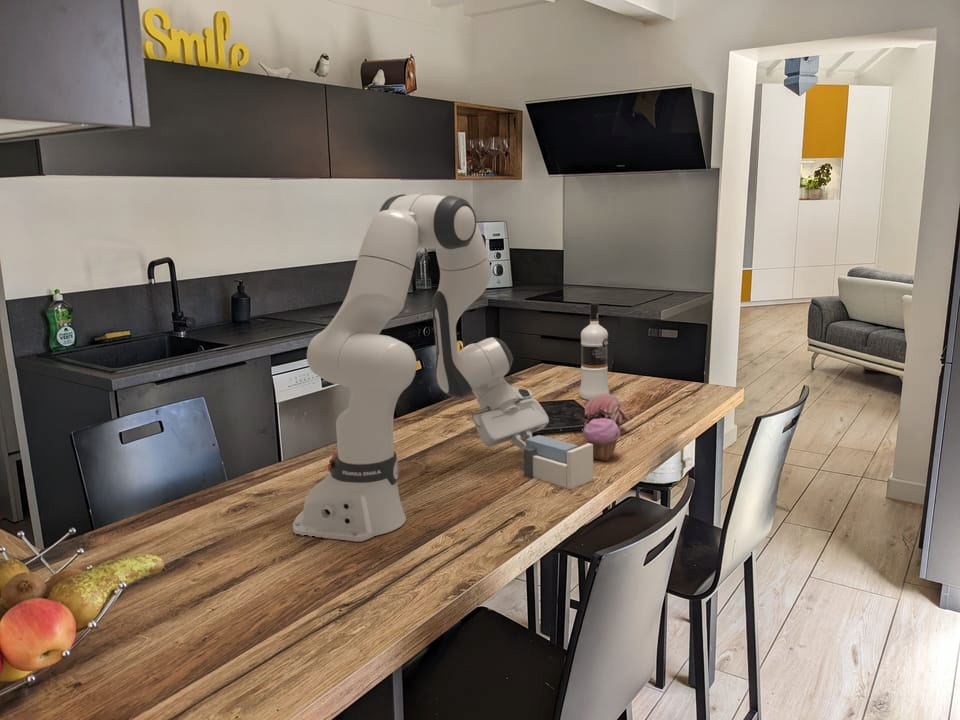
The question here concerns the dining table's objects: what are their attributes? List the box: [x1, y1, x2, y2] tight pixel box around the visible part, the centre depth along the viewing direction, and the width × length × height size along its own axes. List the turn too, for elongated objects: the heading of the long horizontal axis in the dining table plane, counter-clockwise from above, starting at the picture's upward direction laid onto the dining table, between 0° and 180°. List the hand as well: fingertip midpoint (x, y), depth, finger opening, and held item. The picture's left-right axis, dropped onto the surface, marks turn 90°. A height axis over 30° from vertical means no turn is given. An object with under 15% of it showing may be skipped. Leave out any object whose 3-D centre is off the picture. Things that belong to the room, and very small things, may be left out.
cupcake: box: [582, 418, 621, 462], centre depth 191 cm, size 9×9×10 cm
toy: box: [581, 393, 632, 427], centre depth 210 cm, size 12×11×15 cm
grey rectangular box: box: [525, 434, 579, 464], centre depth 180 cm, size 12×4×8 cm, turn 44°
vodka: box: [579, 302, 610, 401], centre depth 244 cm, size 9×9×30 cm
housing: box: [523, 442, 594, 490], centre depth 179 cm, size 13×9×8 cm
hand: (530, 450), depth 185 cm, fingers closed, pressing on grey rectangular box
